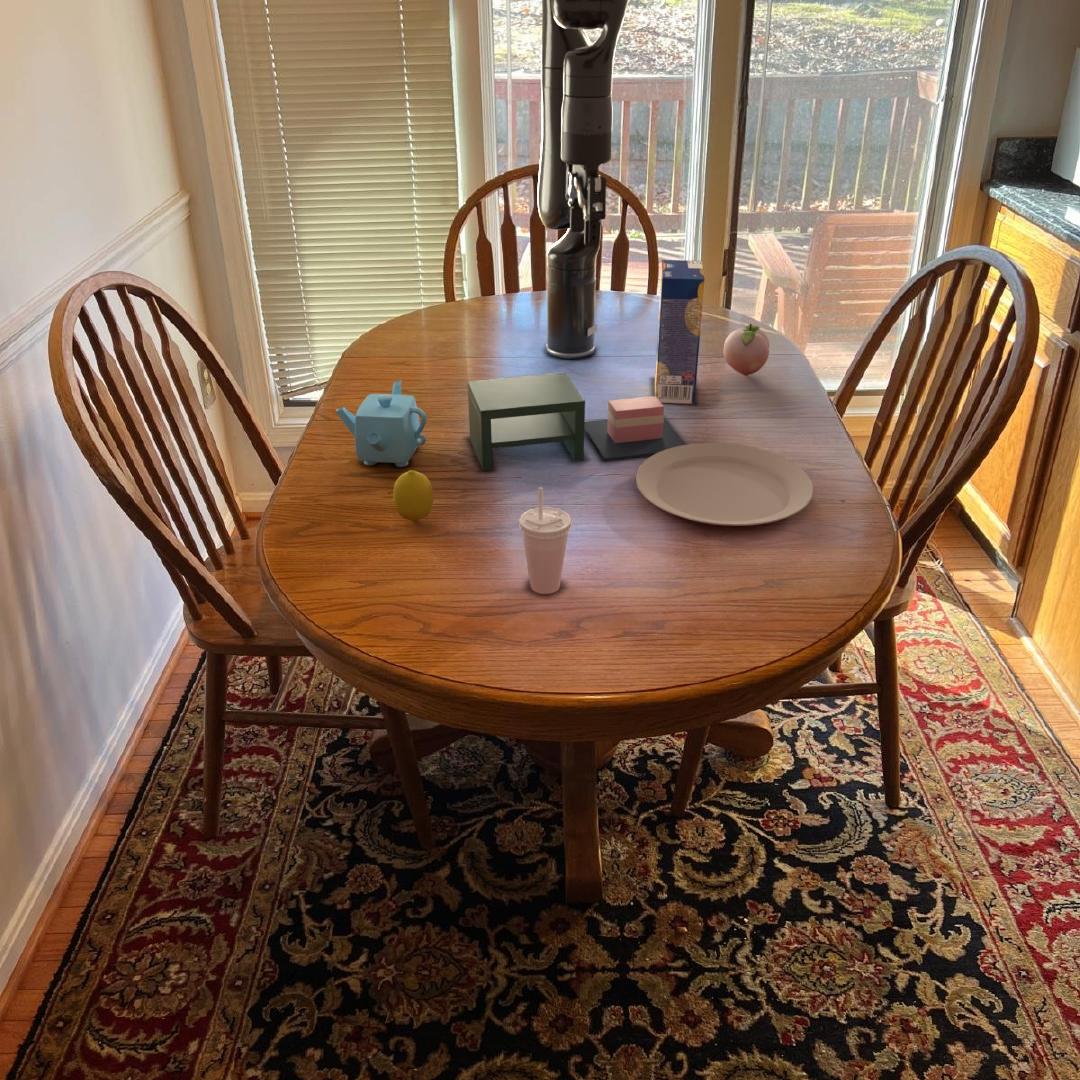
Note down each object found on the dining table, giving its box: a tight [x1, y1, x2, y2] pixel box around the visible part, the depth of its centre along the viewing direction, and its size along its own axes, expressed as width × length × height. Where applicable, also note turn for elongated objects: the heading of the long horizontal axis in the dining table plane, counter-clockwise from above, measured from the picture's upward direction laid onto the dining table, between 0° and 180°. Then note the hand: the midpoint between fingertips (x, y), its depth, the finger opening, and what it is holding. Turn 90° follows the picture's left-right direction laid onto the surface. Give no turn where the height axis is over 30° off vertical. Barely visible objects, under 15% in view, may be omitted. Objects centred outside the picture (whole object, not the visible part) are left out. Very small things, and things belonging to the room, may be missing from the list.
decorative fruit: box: [722, 323, 770, 377], centre depth 185 cm, size 9×8×10 cm
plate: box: [635, 442, 814, 527], centre depth 148 cm, size 26×26×2 cm
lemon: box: [392, 469, 435, 523], centre depth 139 cm, size 6×6×8 cm
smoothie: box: [518, 486, 572, 595], centre depth 124 cm, size 6×6×14 cm
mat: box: [584, 418, 686, 462], centre depth 165 cm, size 14×14×1 cm
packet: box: [606, 395, 665, 443], centre depth 163 cm, size 4×8×6 cm, turn 103°
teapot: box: [335, 379, 428, 468], centre depth 157 cm, size 18×14×10 cm
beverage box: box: [654, 259, 706, 405], centre depth 176 cm, size 7×11×22 cm, turn 175°
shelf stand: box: [467, 371, 586, 472], centre depth 159 cm, size 12×16×10 cm
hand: (584, 238), depth 157 cm, fingers open, 8 cm apart
